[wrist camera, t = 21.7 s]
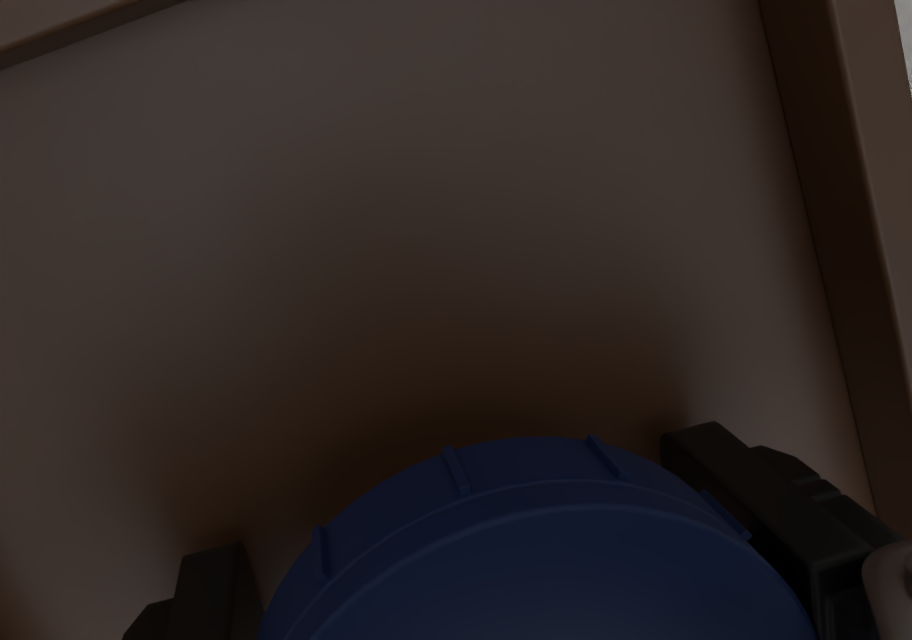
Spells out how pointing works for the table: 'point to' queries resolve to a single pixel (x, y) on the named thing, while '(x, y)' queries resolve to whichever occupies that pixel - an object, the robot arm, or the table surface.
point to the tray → (425, 260)
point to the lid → (534, 556)
